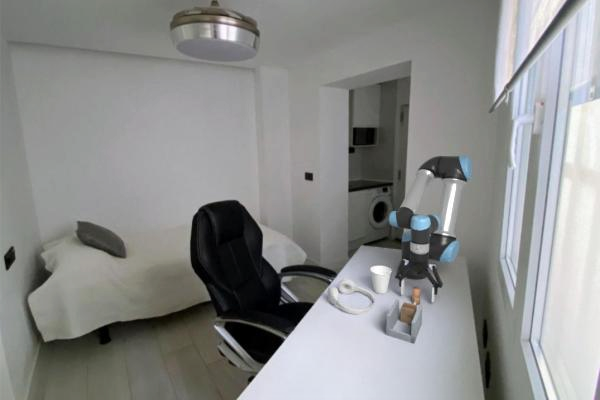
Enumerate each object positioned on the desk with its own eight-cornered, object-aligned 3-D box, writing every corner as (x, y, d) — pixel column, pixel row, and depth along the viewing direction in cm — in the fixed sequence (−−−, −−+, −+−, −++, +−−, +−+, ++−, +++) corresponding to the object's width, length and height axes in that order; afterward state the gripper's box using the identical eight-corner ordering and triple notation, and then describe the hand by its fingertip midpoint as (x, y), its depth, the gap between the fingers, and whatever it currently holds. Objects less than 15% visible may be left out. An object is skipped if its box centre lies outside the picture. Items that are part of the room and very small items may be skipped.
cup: (392, 297, 138) (392, 274, 136) (370, 295, 140) (370, 273, 138) (390, 286, 147) (390, 265, 145) (369, 285, 149) (369, 264, 147)
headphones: (321, 287, 133) (359, 310, 120) (345, 273, 146) (382, 292, 133) (320, 301, 136) (357, 324, 123) (344, 286, 148) (379, 306, 136)
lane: (395, 317, 122) (396, 299, 121) (421, 324, 117) (422, 305, 115) (386, 334, 111) (386, 315, 110) (414, 343, 106) (415, 323, 105)
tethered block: (410, 299, 135) (411, 285, 133) (422, 302, 132) (423, 288, 131) (400, 321, 119) (401, 305, 118) (413, 325, 117) (414, 308, 115)
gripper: (388, 249, 132) (387, 294, 137) (449, 259, 119) (446, 308, 124) (393, 244, 139) (392, 287, 143) (451, 253, 126) (448, 299, 130)
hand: (417, 297), depth 133 cm, fingers open, 12 cm apart
